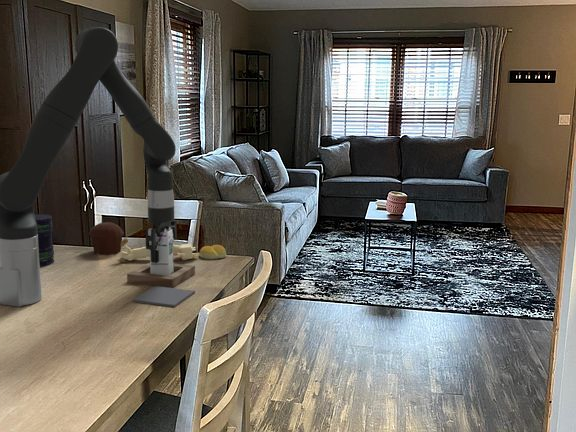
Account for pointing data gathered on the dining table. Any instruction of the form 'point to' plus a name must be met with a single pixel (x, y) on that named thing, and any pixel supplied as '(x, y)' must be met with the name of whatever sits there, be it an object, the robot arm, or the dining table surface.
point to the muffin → (106, 238)
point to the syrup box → (164, 256)
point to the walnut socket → (161, 276)
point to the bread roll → (212, 252)
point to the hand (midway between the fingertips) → (162, 258)
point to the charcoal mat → (164, 296)
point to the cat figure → (134, 254)
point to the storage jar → (45, 239)
